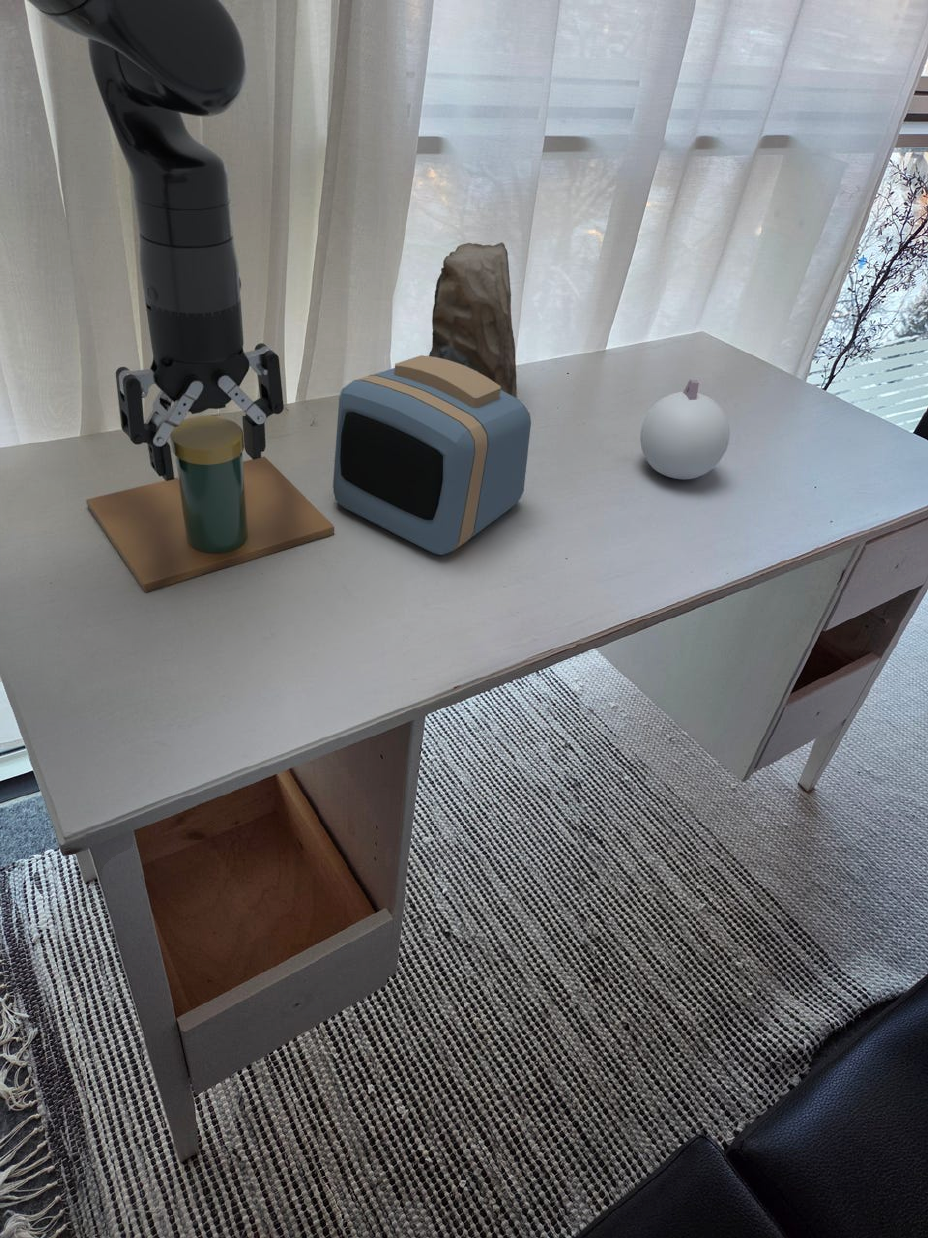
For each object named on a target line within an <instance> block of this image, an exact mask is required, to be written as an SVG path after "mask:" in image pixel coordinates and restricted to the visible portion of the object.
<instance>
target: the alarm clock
mask: <svg viewBox="0 0 928 1238" xmlns="http://www.w3.org/2000/svg"><path fill="white" fill-rule="evenodd" d="M338 397H339V398H338V410H337V422H336V423H337V424H336V437H335V439H336V440H335V450H334V451H335V452H334V466H333V480H332V481H333V482H332V488H333V495H334V500H335V501H336V502H337V503H338V504H340V506H342V508H344V509H346V510H348V511H349V512H352V513H354V514H355V515H357V516H359V517H361V518H363V519H365V520H367V521H369V522H370V523H373V524H375V525H377V526H379V527H381V528H383V529H385V530H386V531H388V532H390V533H393V534H394V535H396V536H398V537H400V538H403V539H404V540H406V541H408V542H410V543H412V544H414V545H417V546H418V547H420V548H422V549H424V550H426V551H428V552H430V553H432V554H435V555H440V556H444V555H446V554H449V553H452V552H453V551H456V550H457V549H458V548H460V547H461V546H462V545H464V544H465V543H466V542H468V541H469V540H470V539H472V538H473V537H474V536H476V535H478V533H480V532H482V531H483V530H484V529H485V528H487V527H488V526H489V525H491V523H493V522H495V521H496V520H497V519H498V518H500V517H501V516H502V515H504V514H506V512H508V511H509V510H510V509H512V508H513V507H514V506H515V505H517V504H518V503H519V502H520V500H521V498H522V496H523V494H524V491H525V482H526V473H527V463H528V455H529V444H530V437H531V425H532V419H531V414H530V412H529V410H528V409H527V407H526V405H525V404H524V403H523V402H522V401H521V400H520V399H519V398H518V397H517V398H515V397H513V396H511V395H509V394H508V393H506V392H504V391H502V390H501V386H499V385H498V384H496V383H495V382H493V381H492V380H490V379H489V378H487V377H486V376H484V375H482V374H480V373H479V372H477V371H475V370H473V369H471V368H468V367H466V366H464V365H462V364H459V363H456V362H453V361H450V360H446V359H442V358H437V357H432V356H429V355H424V354H421V355H417V356H414V357H411V358H408V359H405V360H401V361H399V362H397V363H395V364H394V367H393V368H389V369H386V370H383V371H380V372H376V373H374V374H370V375H366V376H363V377H360V378H357V379H354V380H352V381H351V382H349V383H348V384H347V385H345V386H344V387H342V389H341V391H340V394H339V396H338Z"/></svg>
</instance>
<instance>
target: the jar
mask: <svg viewBox="0 0 928 1238" xmlns="http://www.w3.org/2000/svg"><path fill="white" fill-rule="evenodd" d="M169 438H170V439H169V440H170V447H171V452H172V453H173V455H174V458H175V467H176V473H177V477H178V481H179V489H180V496H181V503H182V511H183V518H184V526H185V533H186V540H187V542H188V544H189V545H190V546H191V547H193V548H194V549H196V550H198V551H201V552H205V553H213V554H216V553H226V552H230V551H233V550H235V549H238V548H239V547H241V546H242V545H243V544H244V543H245V542H246V541H247V539H248V523H247V509H246V496H245V483H244V470H243V461H244V459H243V451H244V450H245V447H244V434H243V428H242V427H241V426H240V424H238V423H236V422H235V421H233V420H231V419H228V418H224V417H221V416H209V415H206V416H196V417H195V416H194V417H190V418H186V419H183V421H182V423H181V424H180V425H179V426H178V427H175V428H174V430H173V432H172V433H171V435H170V437H169Z"/></svg>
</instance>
